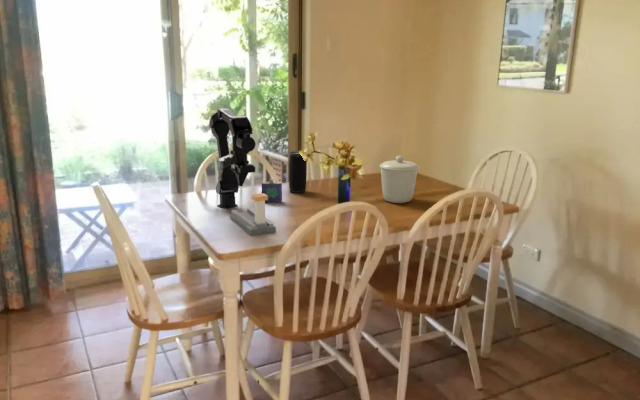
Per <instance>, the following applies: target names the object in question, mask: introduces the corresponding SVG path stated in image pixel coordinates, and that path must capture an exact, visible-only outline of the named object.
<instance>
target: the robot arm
mask: <svg viewBox="0 0 640 400" xmlns="http://www.w3.org/2000/svg"><path fill="white" fill-rule="evenodd" d="M208 126H209V129H210V130H211V134H212V135H213V136H214V137H215V139H216V145H217V153H218V158H217V161H218V164H219V167H220V172H219V175H218V177H217V179H218V180H217V182H216V186H215V192H216V194H218V195H219V204H217V207H220V208H223V209H231V208H235V207H237V206H239V205H238V204H236V196H235V195H236V193H237V194H238V193H239V187H243V185H244V183H245V180H246V179H247V176H249V175H248V174H249V173H256V166H255V165H253V164H252V163H250V161H249V160H248V154H249V153H250V152H252V151H253V150H255V148H256V144H257V143H256V140H255V139H254V138H253V137H251V135H253V127H252V124H251V121H250V120H249V118H248V117H247V116H246V115H238V114H236V112H233V111H232V110H231V108H226V107H225V108H219V109H217V111H216V112H215V113H214V114H212V115H211V116H210V119H209V125H208ZM229 133H231V142H232V143H231V145H232V149H231V150H230V149H229V141H228V135H229Z"/></svg>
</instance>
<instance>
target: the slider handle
mask: <svg viewBox="0 0 640 400" xmlns="http://www.w3.org/2000/svg"><path fill="white" fill-rule="evenodd" d="M250 195H251V198H250V199H251V200H252V201H253V203H254V204H253V205H254V210H255V221H253V223H254V224H255V225H257V228H262V227H267V223H266V222H265V218H266V203H265V200H268V196H267V195H266V194H264V193H263V194H262V193H253V194H250Z"/></svg>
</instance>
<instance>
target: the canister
mask: <svg viewBox="0 0 640 400" xmlns="http://www.w3.org/2000/svg"><path fill="white" fill-rule="evenodd" d="M379 168H380V177H381V189H382V197H383V199H384V200H385V201H387V202H388V203H394V204H405V203H406V202H407V203H409V202H411V201H412V199H413V197H414V192H415V187H416V182H417V176H418V170H419V169H420V166H419V165H418V164H417V163H415V162H413V161H410V160H409V161H408V160H404V156H402V155H397V156H396V157H395V160H386V161H383V162H382V163H380V164H379Z"/></svg>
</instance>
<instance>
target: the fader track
mask: <svg viewBox="0 0 640 400" xmlns="http://www.w3.org/2000/svg"><path fill="white" fill-rule="evenodd" d="M229 219H230V220H231V221H232V222H233V223H235V224H236V225H237V226H238V227H240V228H241V229H242V230H243V231H245V232H246V233H247V234H248V235H250V236H256V235H263V234H271V233H276V232H277V227H276V226H275V225H274V222H272V221H271V220H269V219H267V218H266V217H265V222H266V223H267V227H262V228H257V225H255V224H254V223H253V221H255V209H253V208H251V207H247V208H246V211H243V212H242V211H240V212H239V211H238V210H236V209H231V212H230V213H229Z"/></svg>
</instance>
